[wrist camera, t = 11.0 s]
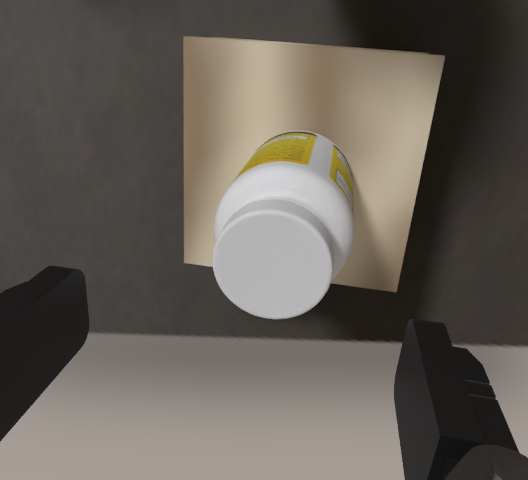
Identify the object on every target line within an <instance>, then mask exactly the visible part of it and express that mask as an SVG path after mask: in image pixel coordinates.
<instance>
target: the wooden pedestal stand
mask: <svg viewBox="0 0 528 480" xmlns="http://www.w3.org/2000/svg"><path fill="white" fill-rule="evenodd" d="M444 60H445V56H443V55H432V54H429V53H424V52H410V51H397V50H383V49H370V48H356V47H343V46H330V45H316V44H303V43H289V42H276V41H262V40H249V39H235V38H222V37H211V38H205V37H191V36H184V263H189V264H196V265H203V266H211V267H213V251H214V247H215V244H216V240H215V233H214V222H215V216H216V212H217V209H218V206H219V203H220V201H221V199H222V197H223V195H224V194H225V192H226V190H227V189H228V187H229V186H230V184H231V183H232V182H233V181H234V179H235V178H236V177H237V175H238V174H239V173H240V171H241V170H242V169H243V168H244V166H245V165H246V164H247V162H248V161H249V160H250V158H251V157H252V156H253V154H254V153H255V152H256V150H257V149H258V148H259V147H260V146H261V145H262V144H263V143H265V142H266V141H267V140H269V139H270V138H272V137H274V136H276V135H278V134H280V133H283V132H287V131H294V130H303V131H310V132H314V133H317V134H320V135H322V136H324V137H326V138H328V139H329V140H331V141H332V142H333V143H334V144H335V145H337V146H338V148H339V149H340V150H341V151H342V152H343V154H344V155H345V157H346V159H347V161H348V163H349V166H350V169H351V172H352V178H353V200H354V223H355V232H354V241H353V247H352V250H351V253H350V256H349V258H348V260H347V262H346V264H345V265H344V267H343V268H342V270H341V271H340V273H339V274H338V275H337V276H336V277H335V278H334V279H333V280H332V281H331V283H333V284H340V285H347V286H354V287H361V288H369V289H376V290H383V291H390V292H397V287H398V282H399V277H400V273H401V268H402V263H403V258H404V253H405V248H406V244H407V239H408V234H409V229H410V224H411V219H412V214H413V210H414V205H415V200H416V195H417V190H418V185H419V181H420V176H421V171H422V166H423V161H424V156H425V152H426V147H427V142H428V137H429V132H430V127H431V123H432V118H433V113H434V108H435V103H436V98H437V93H438V89H439V84H440V79H441V74H442V69H443V64H444Z"/></svg>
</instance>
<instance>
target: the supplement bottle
mask: <svg viewBox="0 0 528 480" xmlns="http://www.w3.org/2000/svg"><path fill="white" fill-rule="evenodd" d="M354 232H355V223H354V200H353V178H352V172H351V169H350V166H349V163H348V161H347V159H346V157H345V155H344V154H343V152H342V151H341V150H340V149H339V148H338V146H337V145H335V144H334V143H333V142H332V141H331V140H329V139H328V138H326V137H324V136H322V135H320V134H317V133H314V132H310V131H303V130H294V131H287V132H283V133H280V134H278V135H276V136H274V137H272V138H270V139H269V140H267V141H266V142H265V143H263V144H262V145H261V146H260V147H259V148H258V149H257V150H256V152H255V153H254V154H253V156H252V157H251V158H250V160H249V161H248V162H247V164H246V165H245V166H244V168H243V169H242V170H241V171H240V173H239V174H238V175H237V177H236V178H235V179H234V181H233V182H232V183H231V184H230V186H229V187H228V189H227V190H226V192H225V194H224V195H223V197H222V199H221V201H220V203H219V206H218V209H217V212H216V216H215V222H214V233H215V240H216V244H215V247H214V251H213V271H214V274H215V277H216V280H217V282H218V284H219V287H220V288H221V290H222V291H223V293H224V294H225V295H226V296H227V297H228V298H229V299H230V300H231V301H232V302H233V303H234V304H235V305H236V306H238V307H239V308H241V309H242V310H244V311H246V312H248V313H250V314H252V315H255V316H259V317H262V318H269V319H286V318H292V317H295V316H298V315H301V314H303V313H305V312H307V311H309V310H310V309H311V308H313V307H314V306H316V305H317V304H318V303H319V302H320V301H321V300H322V298H323V297H324V295H325V294H326V292H327V290H328V288H329V286H330V283H331V281H332V280H333V279H334V278H335V277H336V276H337V275H338V274H339V273H340V271H341V270H342V268H343V267H344V265H345V264H346V262H347V260H348V258H349V256H350V253H351V250H352V247H353V241H354Z"/></svg>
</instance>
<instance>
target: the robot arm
mask: <svg viewBox="0 0 528 480" xmlns="http://www.w3.org/2000/svg"><path fill="white" fill-rule="evenodd" d="M88 331H89V315H88V304H87V294H86V283H85V276H84V274H83V272H82V271H81V270H78V269H71V268H64V267H58V266H48V267H47V268H45V269H44V270H42V271H41V272H40V273H38V274H37V275H36V276H35V277H33V278H32V279H31V280H29V281H28V282H24V283H22V284H19V285H17V286H14V287H12V288H10V289H7V290H5V291H3V292H2V293H1V294H0V441H1V440H2V439H3V438H4V436H5V435H6V434H7V433H8V432H9V431H10V429H11V428H12V427H13V426H14V425H15V424H16V423H17V422H18V420H19V419H20V418H21V417H22V416H23V414H24V413H25V412H26V411H27V410H28V409H29V408H30V406H31V405H32V404H33V403H34V402H35V400H37V398H38V397H39V396H40V395H41V394H42V393H43V391H44V390H45V389H46V388H47V387H48V386H49V384H50V383H51V382H52V381H53V380H54V379H55V378H56V376H57V375H58V374H59V373H60V372H61V371H62V369H63V368H64V367H65V366H66V365H67V364H68V363H69V361H70V360H71V359H72V358H73V357H74V355H75V354H76V353H77V352H78V351H79V350H80V349H81V347H82V346H83V344H84V343H85V340H86V338H87V335H88ZM489 383H490V382H489V379H488V377H487V375H486V372H485V370H484V367H483V365H482V364H481V363H480V362H479V361H478V360H477V359H476V358H475V357H474V356H473V355H472V354H471V353H470V352H469V351H468V350H467V349H465V348H459V347H453V346H452V344H451V341H450V338H449V335H448V332H447V329H446V326H445V324H444V323H439V322H432V321H425V320H418V319H409V321H408V323H407V327H406V331H405V335H404V340H403V344H402V348H401V353H400V357H399V362H398V366H397V371H396V376H395V384H394V401H395V408H396V416H397V423H398V431H399V438H400V446H401V453H402V461H403V468H404V476H405V480H528V458H527V457H526V456H524V455H522V454H520V453H519V451H518V449H517V446H516V444H515V441H514V439H513V437H512V434H511V432H510V429H509V427H508V425H507V422H506V420H505V418H504V415H503V413H502V410H501V408H500V406H499V403H498V401H497V400H495V397H496V396H495V394H494V391H493V389H492V387H491V385H489Z"/></svg>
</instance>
